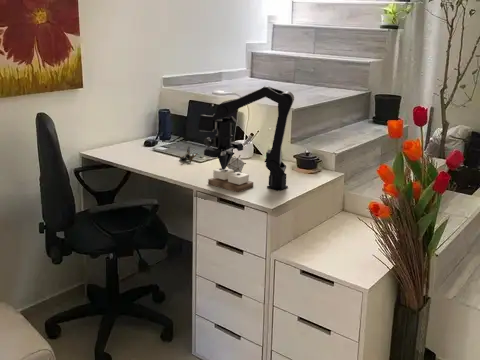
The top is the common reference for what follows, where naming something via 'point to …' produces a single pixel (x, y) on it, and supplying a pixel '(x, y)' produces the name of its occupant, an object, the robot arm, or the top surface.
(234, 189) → the brown flat slab
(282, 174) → the robot arm
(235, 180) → the tile one
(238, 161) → the game die
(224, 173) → the tile two
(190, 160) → the eagle figurine
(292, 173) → the top surface
